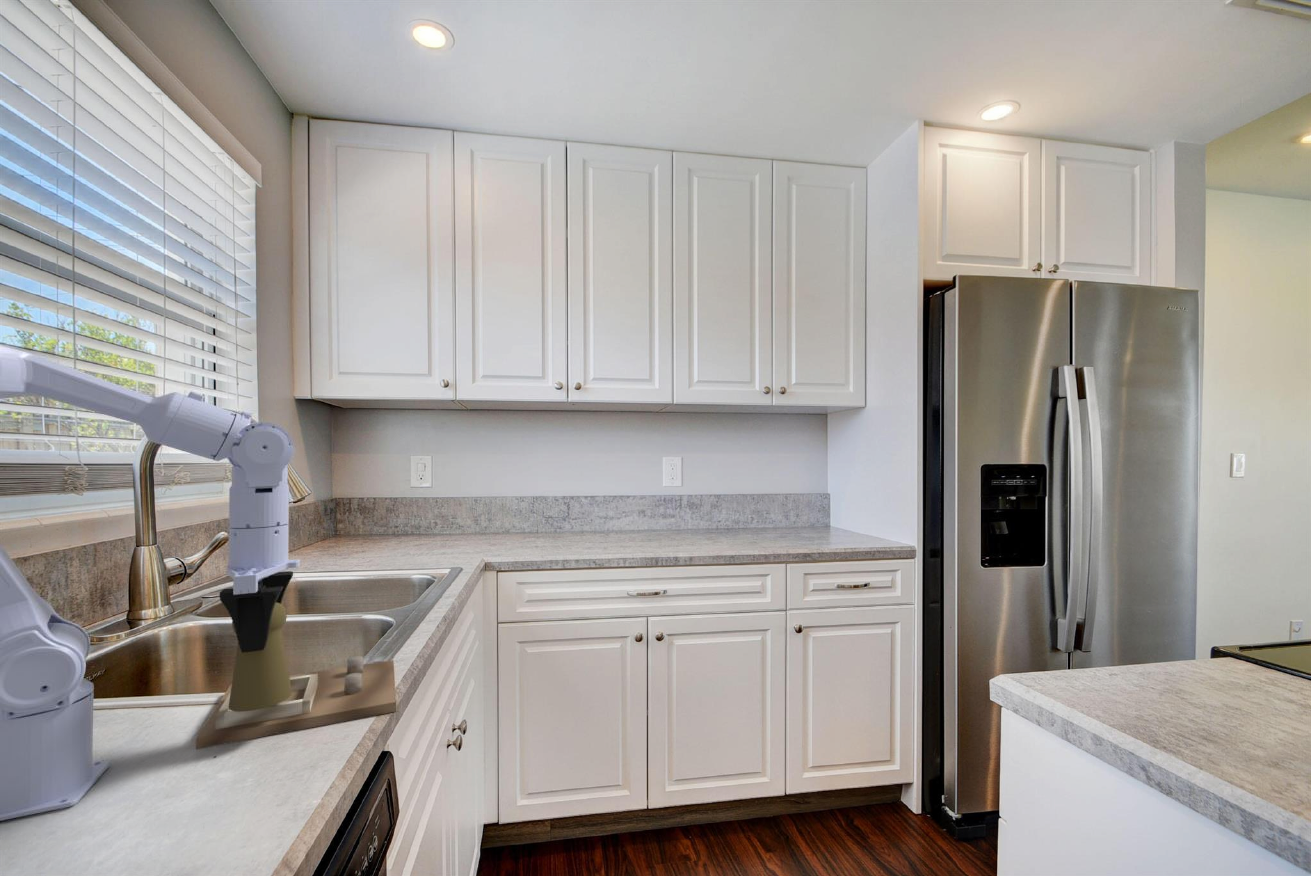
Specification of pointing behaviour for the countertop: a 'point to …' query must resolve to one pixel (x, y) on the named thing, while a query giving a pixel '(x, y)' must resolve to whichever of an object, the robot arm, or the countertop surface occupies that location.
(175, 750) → the countertop surface
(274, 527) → the robot arm
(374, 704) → the board
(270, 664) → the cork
